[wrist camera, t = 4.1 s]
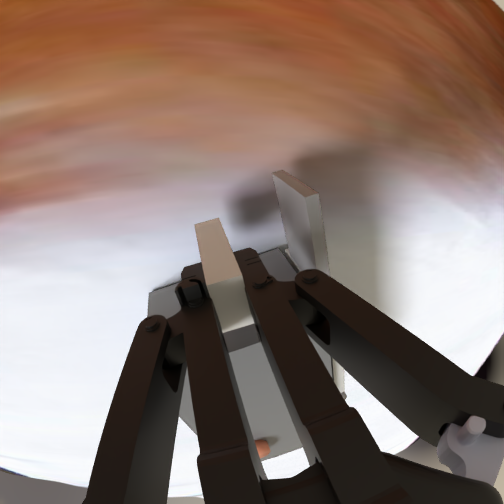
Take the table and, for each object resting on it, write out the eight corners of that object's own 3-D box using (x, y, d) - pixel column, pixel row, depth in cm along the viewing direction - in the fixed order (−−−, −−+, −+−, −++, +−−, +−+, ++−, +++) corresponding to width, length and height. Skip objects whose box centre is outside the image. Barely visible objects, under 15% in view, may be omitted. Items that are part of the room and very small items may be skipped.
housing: (148, 292, 21) (145, 389, 13) (292, 243, 22) (352, 317, 14) (225, 415, 30) (242, 482, 23) (317, 383, 31) (349, 444, 24)
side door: (263, 169, 19) (313, 206, 12) (277, 165, 19) (333, 200, 12) (301, 343, 27) (335, 404, 21) (311, 339, 27) (346, 399, 21)
